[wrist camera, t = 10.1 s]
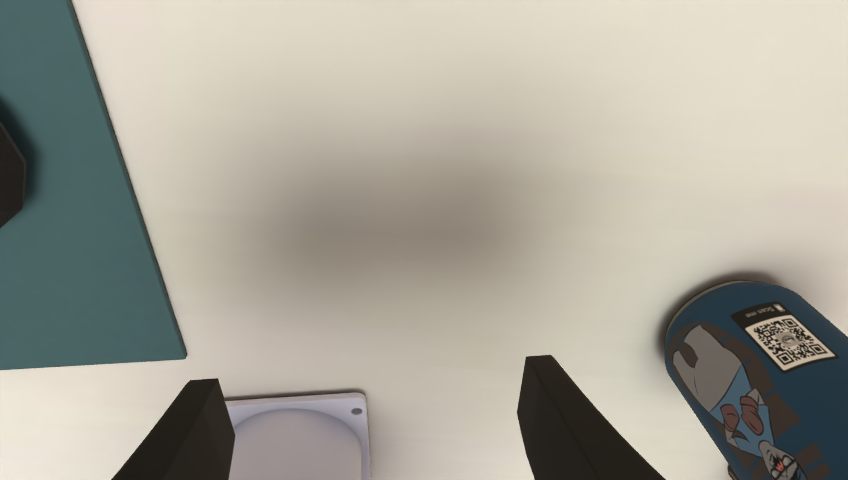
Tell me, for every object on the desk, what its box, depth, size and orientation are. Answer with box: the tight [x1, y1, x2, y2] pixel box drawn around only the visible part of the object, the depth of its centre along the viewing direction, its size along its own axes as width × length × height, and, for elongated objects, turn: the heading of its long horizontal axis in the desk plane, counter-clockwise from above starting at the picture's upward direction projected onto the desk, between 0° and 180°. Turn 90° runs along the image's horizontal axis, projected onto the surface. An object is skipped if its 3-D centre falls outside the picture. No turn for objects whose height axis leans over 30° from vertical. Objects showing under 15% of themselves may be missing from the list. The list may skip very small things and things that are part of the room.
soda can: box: [665, 281, 848, 480], centre depth 20 cm, size 7×7×12 cm
